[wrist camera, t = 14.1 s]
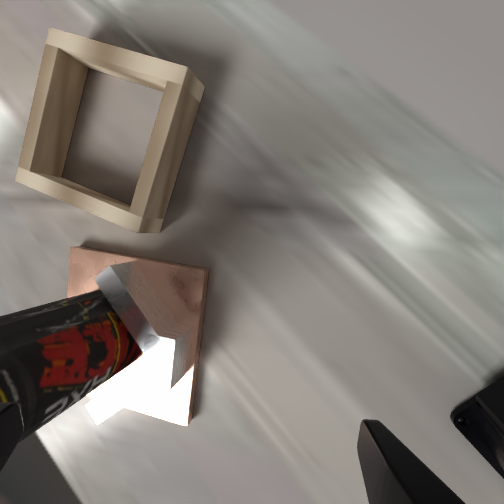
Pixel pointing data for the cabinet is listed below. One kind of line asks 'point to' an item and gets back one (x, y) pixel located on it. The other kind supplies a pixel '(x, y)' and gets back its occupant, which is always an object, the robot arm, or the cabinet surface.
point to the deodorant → (60, 355)
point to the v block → (147, 330)
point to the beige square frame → (64, 116)
